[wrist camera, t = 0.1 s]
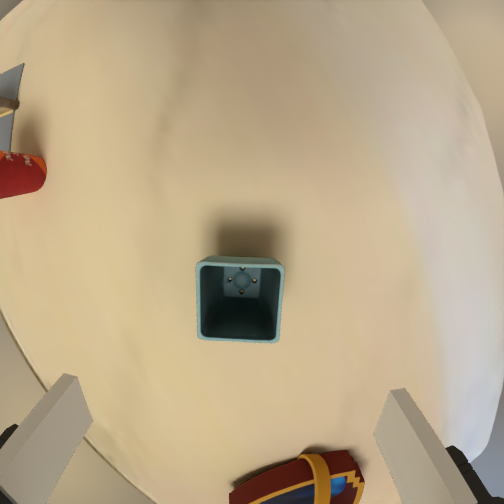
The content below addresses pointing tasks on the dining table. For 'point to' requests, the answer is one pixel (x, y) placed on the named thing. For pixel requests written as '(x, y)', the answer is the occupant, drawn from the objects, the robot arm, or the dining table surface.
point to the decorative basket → (305, 482)
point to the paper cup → (20, 173)
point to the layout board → (8, 88)
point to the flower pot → (239, 299)
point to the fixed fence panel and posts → (7, 105)
